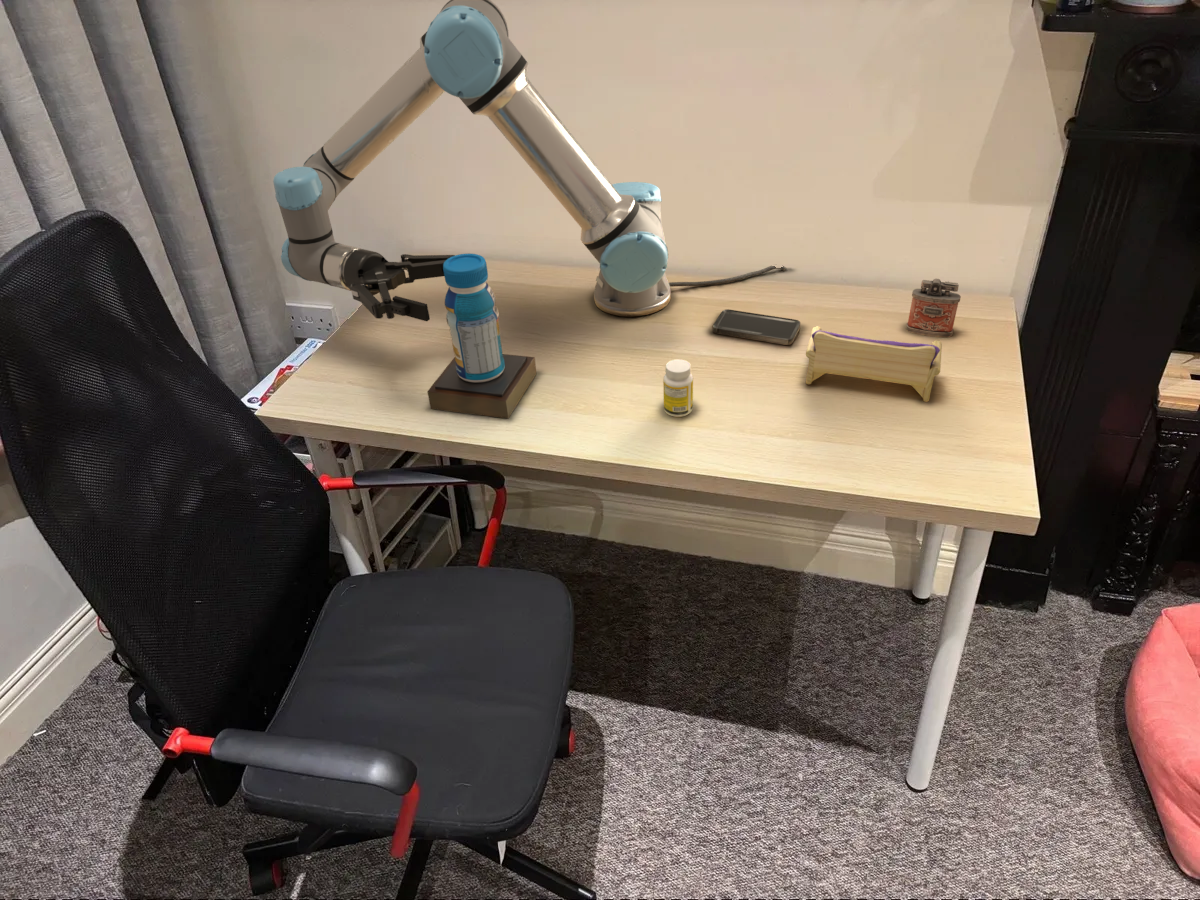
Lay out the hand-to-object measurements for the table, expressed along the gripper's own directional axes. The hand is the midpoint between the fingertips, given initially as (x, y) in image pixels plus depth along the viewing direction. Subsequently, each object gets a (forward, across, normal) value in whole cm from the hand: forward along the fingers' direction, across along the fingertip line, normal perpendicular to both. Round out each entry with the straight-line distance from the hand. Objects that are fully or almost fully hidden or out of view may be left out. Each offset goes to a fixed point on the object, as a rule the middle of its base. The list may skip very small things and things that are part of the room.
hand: (454, 294), depth 139 cm
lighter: (+65, -53, -18) cm, 85 cm away
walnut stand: (+3, 0, -18) cm, 18 cm away
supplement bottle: (+35, -10, -18) cm, 41 cm away
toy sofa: (+60, -32, -18) cm, 70 cm away
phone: (+37, -40, -18) cm, 57 cm away
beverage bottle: (+3, 0, -14) cm, 14 cm away
